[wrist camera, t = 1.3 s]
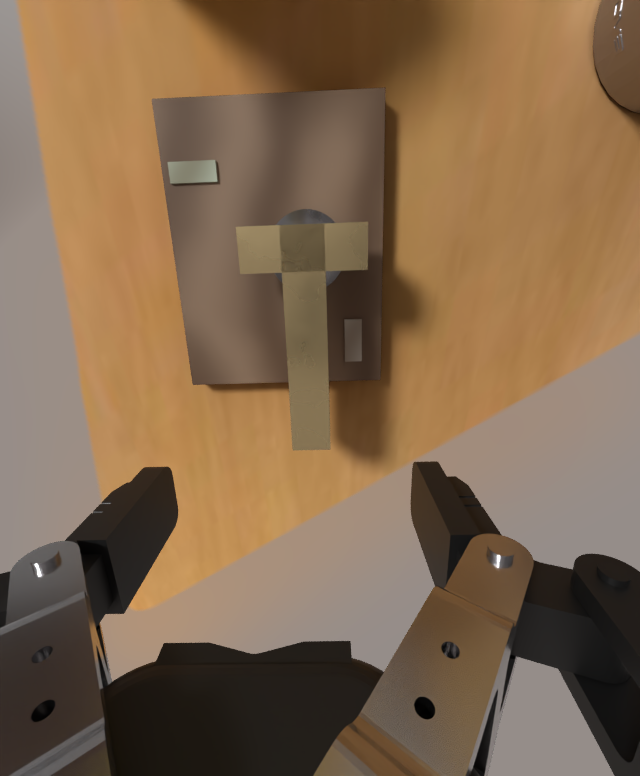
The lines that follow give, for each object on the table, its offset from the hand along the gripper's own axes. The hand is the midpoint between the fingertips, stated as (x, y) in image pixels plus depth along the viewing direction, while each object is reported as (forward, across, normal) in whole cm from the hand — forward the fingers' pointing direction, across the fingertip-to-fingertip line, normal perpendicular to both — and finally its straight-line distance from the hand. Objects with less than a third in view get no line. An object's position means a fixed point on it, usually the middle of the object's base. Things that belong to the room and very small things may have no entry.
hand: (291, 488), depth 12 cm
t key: (+16, 0, -3) cm, 16 cm away
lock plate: (+17, +2, -8) cm, 19 cm away
